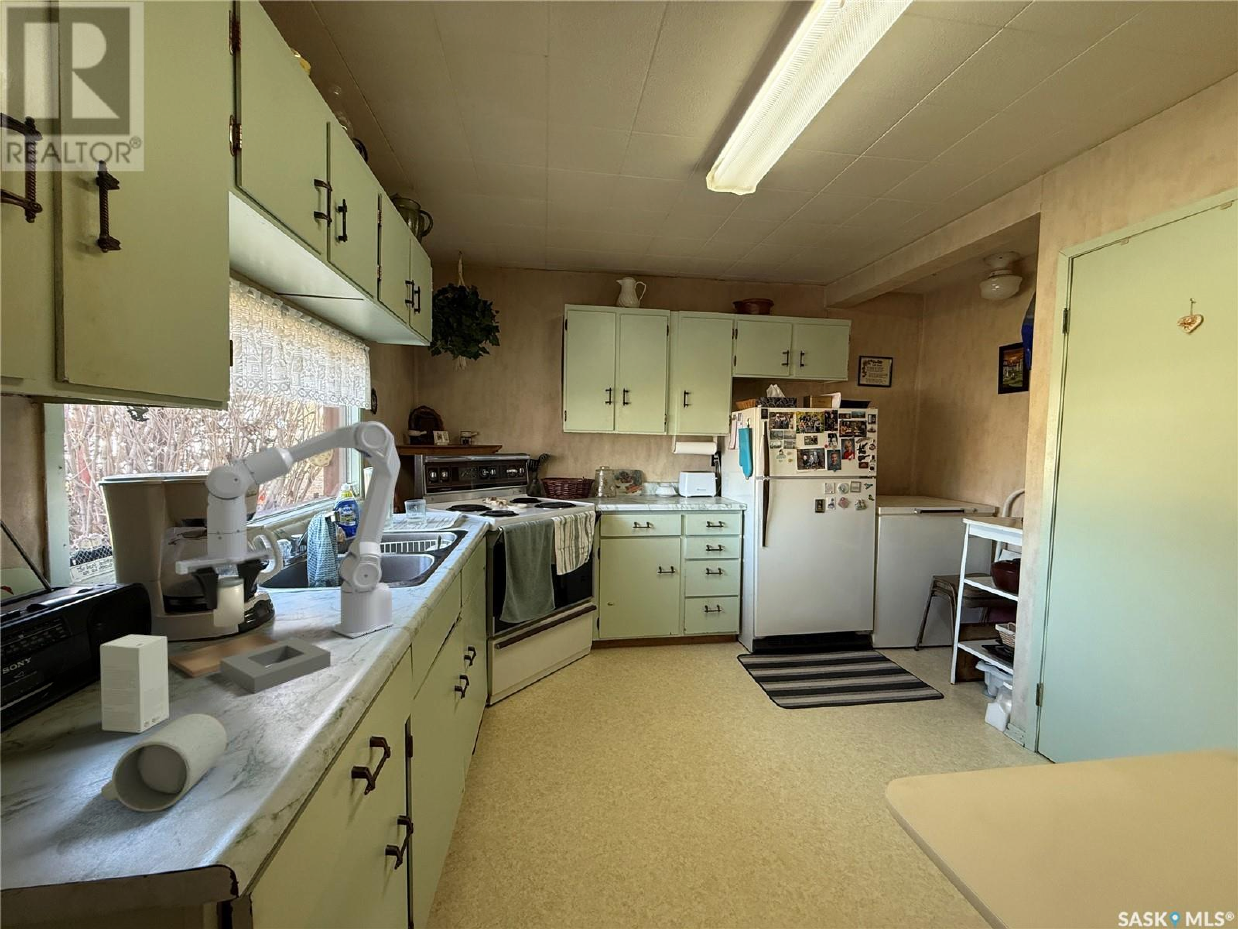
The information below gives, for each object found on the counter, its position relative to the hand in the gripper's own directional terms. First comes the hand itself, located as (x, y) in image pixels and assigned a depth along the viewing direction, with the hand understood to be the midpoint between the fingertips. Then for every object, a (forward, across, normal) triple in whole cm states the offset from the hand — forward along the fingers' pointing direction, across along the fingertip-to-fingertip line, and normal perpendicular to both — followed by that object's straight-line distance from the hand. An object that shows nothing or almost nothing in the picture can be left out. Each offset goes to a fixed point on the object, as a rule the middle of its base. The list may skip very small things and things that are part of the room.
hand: (228, 604), depth 93 cm
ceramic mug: (+10, -20, -35) cm, 41 cm away
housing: (+10, +2, -13) cm, 16 cm away
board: (+10, 0, 0) cm, 10 cm away
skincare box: (+10, -17, -15) cm, 25 cm away
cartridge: (+3, 0, 0) cm, 3 cm away
